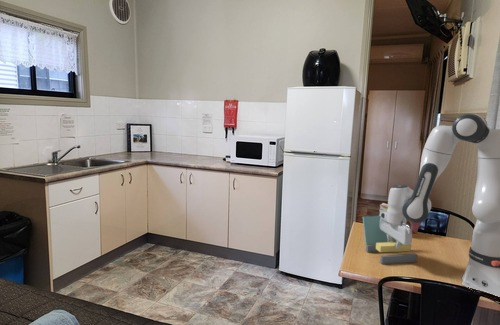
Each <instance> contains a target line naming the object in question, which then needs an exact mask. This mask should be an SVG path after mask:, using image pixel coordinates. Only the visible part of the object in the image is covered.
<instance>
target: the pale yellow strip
mask: <svg viewBox="0 0 500 325" xmlns="http://www.w3.org/2000/svg"><path fill="white" fill-rule="evenodd" d="M396 243H397V242H383V243H376V249H377V250H378V251H379V252H378V253H392V252H393V253H394V252H411V250H412V243H411V244H410V245H404V244H401V245H400V248H399V249H396V248H395V244H396Z"/></svg>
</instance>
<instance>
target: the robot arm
mask: <svg viewBox="0 0 500 325" xmlns="http://www.w3.org/2000/svg"><path fill="white" fill-rule="evenodd" d="M429 133H430V134H429V135H428V137H427V139H426V142H425V144H424V147H423V149H422V153H421V158H420V165H419V173H418V178H417V181H416V184H415V186H414V188H413V189H412V188H410V186H408V185H407V184H396V185H394V186H391V188H390V189H389V192H388V199H387V204H388V209H387V212H381V213H380V216H381V218H380V229H381V230H382V231H384V232H385V233H387V238H388V242H393V240H392V237H393V238H394V239H396V242H397V243H396V244H395V248H396V249H399V248H400V245H401V244H404V245H410V244H411V245H412V243H413V242H412V241H413V233H412V231H411V226H410V225H409V224H408V223H407V222H410V221H411V222H414V223H420V222H422V223H423V222H425V221H426V220H427V219H428V217H429V213H430V211H431V209H432V206H433V205H432V201H431V199H430V196H431V193H432V190H433V187H434V185H435V183H436V181H437V179H438V178H439V177H440V176H441V174H442V173H443V172H444V170H446V168H447V166H448V164H449V163H450V161H451V159H452V156H453V153H454V150H455V148H456V146H457V144H458V143H459V142H461V141H464V142H469V143H472V144H475V145H476V146H477V167H476V168H477V170H476V171H477V172H476V173H477V174H476V183H475V189H474V195H473V203H472V207H471V212H472V214H473V216H474V217H475V219H476V222H475V224H474V227H473V230H472V231H473V232H472V237H471V244H470V245H471V246H470V247H469V250H468V261H467V264H466V268H465V271H464V273H463V274H462V277H461V280H462V283H461V285H463V286H464V287H466V288H468V287H469V288H468V289H470V288H473V289H476V290H480V291H484V292H487V293H490V294H493V295H495V296H498V297H500V129H497V128H494V129H493V128H490V127H489V126H488V122H487V120H486V119H485V118H484V117H482V115H480V114H477V113H464V114H460V115H459V116H458V117H456V118H455V119H454V120H453V123H452V125H443V124H441V125H437V126H434V128H433V129H432V130H431V131H430V132H429Z"/></svg>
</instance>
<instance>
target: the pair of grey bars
mask: <svg viewBox="0 0 500 325" xmlns="http://www.w3.org/2000/svg"><path fill="white" fill-rule="evenodd" d="M365 246H366V247H365V251H366V253H380V252H379V251H378V250H377V249H376V244H370V245H365ZM417 259H418V254H417V253H415V252H414V253H413V252H411V253H400V254H385V255H380V261H379V263H380V264H381V265H388V264H389V265H390V264H400V263H401V264H403V263H404V264H405V263H414V262H415V263H416V262H417V261H418V260H417Z"/></svg>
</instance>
